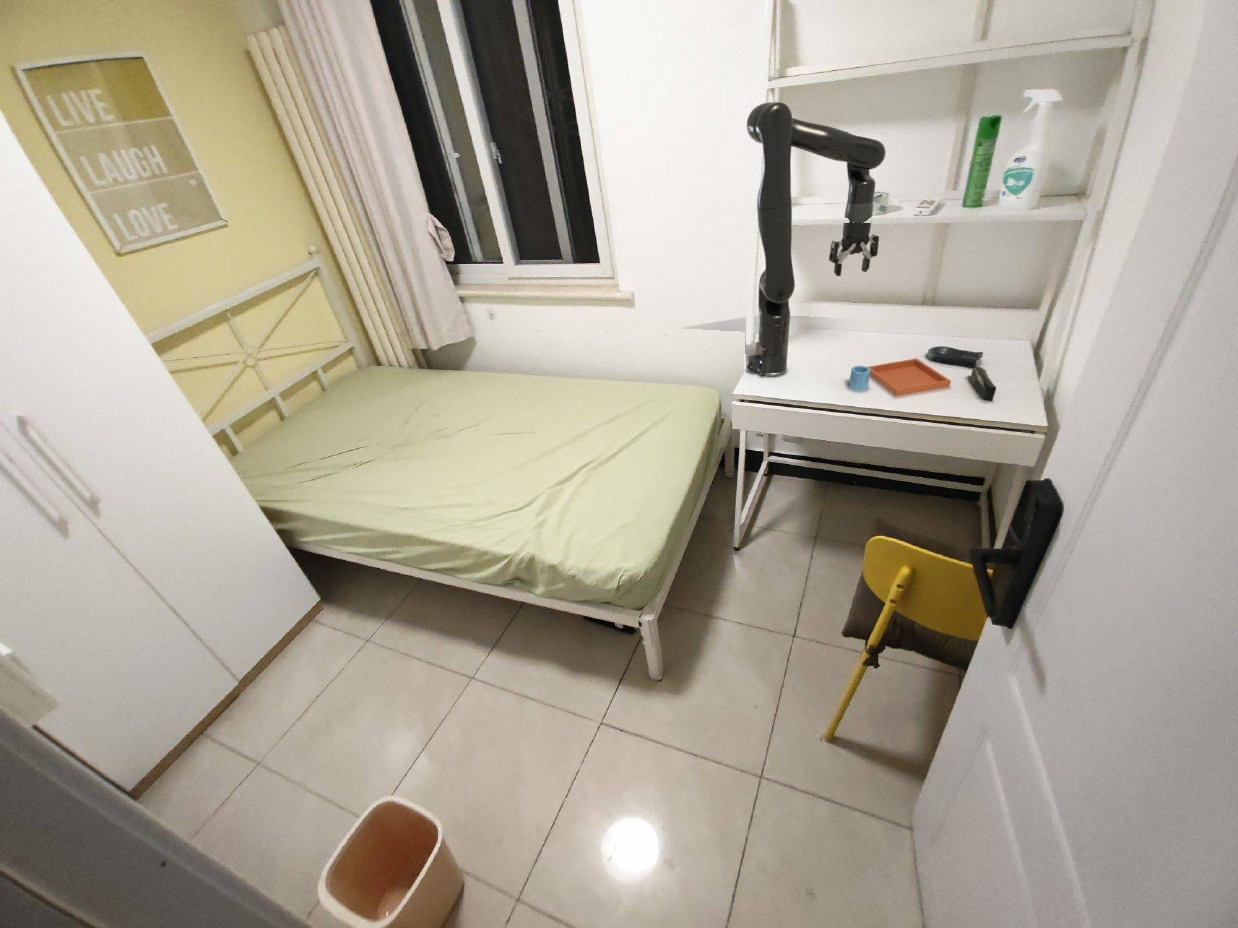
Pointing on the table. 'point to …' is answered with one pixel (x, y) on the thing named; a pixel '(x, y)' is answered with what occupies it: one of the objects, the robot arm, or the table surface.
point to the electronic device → (954, 356)
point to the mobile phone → (982, 383)
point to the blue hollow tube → (859, 378)
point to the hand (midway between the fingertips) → (851, 273)
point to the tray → (908, 377)
